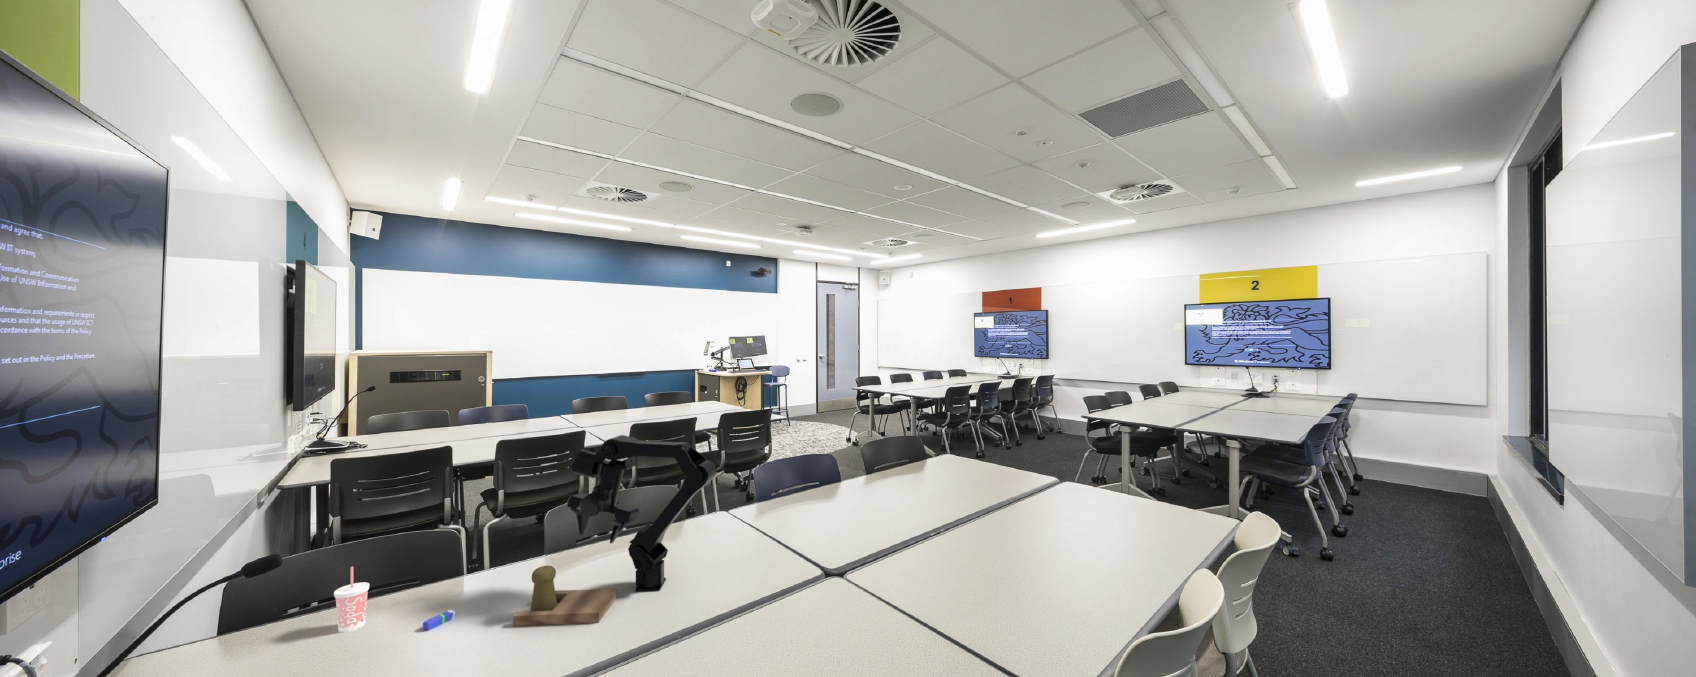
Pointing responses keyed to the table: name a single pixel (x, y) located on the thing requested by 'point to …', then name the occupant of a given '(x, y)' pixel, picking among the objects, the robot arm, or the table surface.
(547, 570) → the cork
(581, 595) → the notched board
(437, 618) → the eraser
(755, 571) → the table surface
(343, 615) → the beverage cup
